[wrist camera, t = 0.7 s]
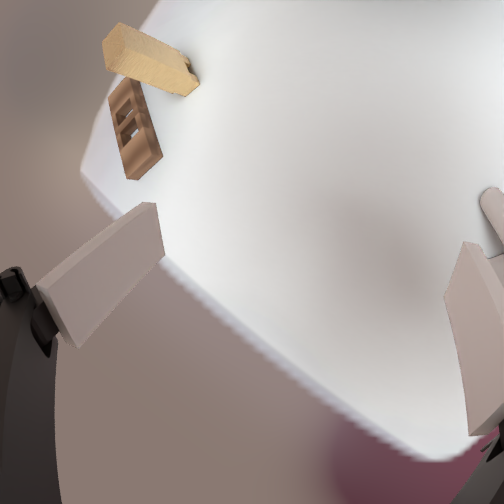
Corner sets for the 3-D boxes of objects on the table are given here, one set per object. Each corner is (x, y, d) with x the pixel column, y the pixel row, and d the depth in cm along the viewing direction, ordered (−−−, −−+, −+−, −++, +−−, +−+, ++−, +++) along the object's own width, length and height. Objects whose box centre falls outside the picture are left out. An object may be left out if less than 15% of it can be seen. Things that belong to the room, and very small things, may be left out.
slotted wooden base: (117, 100, 51) (107, 97, 48) (138, 77, 47) (128, 73, 45) (138, 180, 48) (126, 178, 46) (163, 156, 45) (151, 154, 42)
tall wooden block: (172, 71, 43) (101, 42, 30) (189, 56, 41) (119, 21, 28) (183, 98, 42) (106, 69, 29) (201, 82, 40) (125, 47, 27)
